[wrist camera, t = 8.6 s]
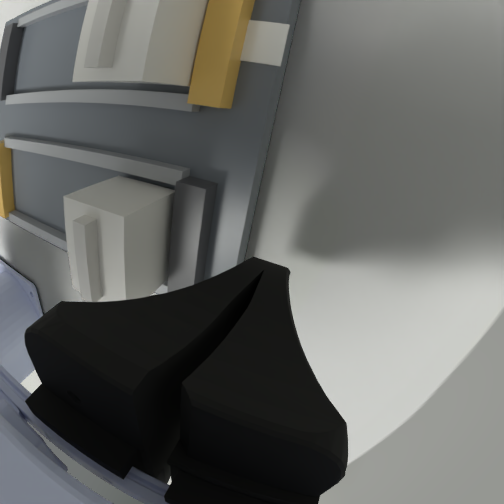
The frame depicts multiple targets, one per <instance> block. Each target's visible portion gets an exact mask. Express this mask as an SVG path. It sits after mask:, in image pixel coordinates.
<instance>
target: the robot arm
mask: <svg viewBox="0 0 504 504" xmlns="http://www.w3.org/2000/svg"><path fill="white" fill-rule="evenodd" d="M289 275H290V270H289V269H288V268H286V267H283V266H280V265H277V264H274V263H271V262H268V261H265V260H262V259H259V258H256V257H252V258H250V259H248V260H246V261H244V262H242V263H240V264H238V265H236V266H235V267H233V268H231V269H229V270H227V271H224V272H222V273H220V274H218V275H216V276H214V277H211V278H209V279H206V280H204V281H202V282H199V283H197V284H194V285H191V286H188V287H185V288H182V289H178V290H175V291H171V292H167V293H163V294H158V295H153V296H148V297H142V298H137V299H129V300H120V301H107V302H65V301H61V302H60V303H58V304H57V305H56V306H55V307H53V308H52V309H51V310H49V311H48V312H47V313H46V314H44V315H43V313H42V309H41V306H40V302H39V298H38V294H37V290H36V287H35V285H34V284H33V283H32V282H30V281H29V280H27V279H26V278H24V277H23V276H22V275H20V274H19V273H18V272H16V271H15V270H14V269H12V268H11V267H10V266H8V265H7V264H6V263H4V262H3V261H2V260H1V259H0V504H113V503H112V502H110V501H109V500H107V499H105V498H104V497H102V496H101V495H99V494H98V493H96V492H95V491H93V490H91V489H90V488H89V487H87V486H85V485H84V484H83V483H81V482H80V481H79V480H77V479H75V478H74V477H73V476H72V475H70V474H69V473H67V470H68V469H67V466H66V465H65V464H63V462H62V461H60V460H59V458H58V457H57V456H56V455H55V454H54V453H53V452H52V451H51V450H50V449H49V447H48V446H47V445H46V443H45V442H44V440H43V439H42V438H41V437H40V436H39V435H38V434H37V433H36V432H35V431H34V430H33V429H32V428H31V427H30V426H29V425H28V423H27V421H28V422H29V423H30V424H31V425H32V426H33V427H34V428H36V429H37V430H38V431H39V432H40V433H41V434H42V435H43V436H45V437H46V438H47V439H48V440H49V441H51V442H52V443H53V444H54V445H55V446H57V447H58V448H59V449H60V450H62V451H63V452H64V453H66V454H67V455H68V456H70V457H71V458H72V459H74V460H75V461H76V462H78V463H79V464H80V465H82V466H83V467H85V468H86V469H88V470H89V471H91V472H92V473H93V474H95V475H96V476H98V477H100V478H101V479H103V480H104V481H106V482H107V483H109V484H111V485H112V486H114V487H116V488H117V489H119V490H121V491H122V492H124V493H126V494H128V495H129V496H131V497H133V498H135V499H137V500H139V501H140V502H142V503H144V504H318V501H319V497H320V495H321V494H323V493H324V492H325V491H327V490H328V489H330V488H331V487H333V486H334V485H335V484H337V483H338V482H339V481H340V480H341V479H342V478H343V477H344V476H345V471H346V468H347V462H348V435H347V424H346V422H345V420H344V419H343V418H342V416H341V415H340V414H339V412H338V411H337V410H336V408H335V407H334V406H333V404H332V403H331V402H330V400H329V399H328V397H327V396H326V394H325V393H324V391H323V389H322V388H321V386H320V384H319V383H318V381H317V379H316V377H315V375H314V373H313V371H312V369H311V367H310V365H309V363H308V361H307V359H306V356H305V354H304V351H303V349H302V346H301V344H300V341H299V338H298V335H297V331H296V328H295V324H294V320H293V315H292V311H291V305H290V297H289ZM34 370H36V372H37V374H38V376H39V378H40V380H41V382H42V384H41V385H40V386H39V387H38V388H37V389H36V390H35V391H34V392H33V393H32V394H31V393H30V392H29V391H28V390H26V389H25V388H24V387H23V386H22V385H21V384H20V383H21V382H22V381H23V380H24V379H25V378H26V377H27V376H28V375H29V374H30V373H31V372H33V371H34ZM170 476H171V480H172V483H171V484H170V485H168V484H167V483H168V481H169V479H170Z"/></svg>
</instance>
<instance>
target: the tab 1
mask: <svg viewBox="0 0 504 504" xmlns="http://www.w3.org/2000/svg"><path fill="white" fill-rule="evenodd" d="M208 3H209V0H89V2H88V6H87V9H86V13H85V17H84V21H83V25H82V30H81V34H80V39H79V44H78V49H77V54H76V60H75V66H74V73H73V80H72V82H121V83H145V84H163V85H177V86H188V87H190V84H191V79H192V74H193V69H194V64H195V59H196V54H197V49H198V45H199V40H200V36H201V31H202V27H203V23H204V19H205V15H206V11H207V7H208Z"/></svg>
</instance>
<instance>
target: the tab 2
mask: <svg viewBox="0 0 504 504" xmlns="http://www.w3.org/2000/svg"><path fill="white" fill-rule="evenodd" d="M174 195H175V190H172V189H169V188H165V187H161V186H157V185H153V184H150V183H146V182H142V181H138V180H134V179H130V178H126V177H122V176H116V177H113V178H110V179H108V180H105V181H102V182H99V183H96V184H94V185H91V186H88V187H86V188H83V189H80V190H78V191H75V192H73V193H70V194H68V195H65V196H63V199H64V217H65V230H66V241H67V250H68V258H69V266H70V273H71V280H72V286H73V289H75V290H77V291H79V292H80V293H81V298H82V300H84V301H86V302H107V301H120V300H129V299H137V298H142V297H148V296H150V295H151V294H153V293H154V292H155V291H156V290H157V289H158V288H159V287H160V286H161V285H162V284H163V283H164V282H165V281H166V280H167V279H168V269H169V253H170V239H171V226H172V215H173V205H174Z"/></svg>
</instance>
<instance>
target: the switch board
mask: <svg viewBox="0 0 504 504" xmlns="http://www.w3.org/2000/svg"><path fill="white" fill-rule="evenodd" d="M88 2H89V0H51V1H49V2H47V3H44V4H42V5H40V6H38V7H36V8H33V9H31V10H29V11H27V12H25V13H23V14H21V15H19V16H17V17H15V18H13V19H12V20H10V21H8V22H6V25H5V29H4V34H3V38H2V43H1V48H0V216H1V217H3V218H5V219H7V220H9V221H10V222H12V223H14V224H16V225H17V226H19V227H21V228H23V229H25V230H26V231H28V232H30V233H32V234H34V235H36V236H37V237H39V238H41V239H43V240H45V241H47V242H49V243H51V244H52V245H54V246H56V247H58V248H60V249H62V250H64V251H66V252H68V250H67V241H66V230H65V217H64V199H63V196H65V195H68V194H70V193H73V192H75V191H78V190H80V189H83V188H86V187H88V186H91V185H94V184H96V183H99V182H102V181H105V180H108V179H110V178H113V177H116V176H122V177H126V178H130V179H134V180H138V181H142V182H146V183H150V184H153V185H157V186H161V187H165V188H169V189H172V190H175V195H174V205H173V215H172V226H171V239H170V253H169V269H168V279H167V280H166V281H165V282H164V283H163V284H162V285H161V286H160V287H159V288H158V289H157V290H156V291H155V292H154V293H156V294H163V293H167V292H171V291H175V290H178V289H182V288H185V287H188V286H191V285H194V284H197V283H199V282H202V281H204V280H206V279H209V278H211V277H214V276H216V275H218V274H220V273H222V272H224V271H227V270H229V269H231V268H233V267H235V266H236V265H238V264H240V263H242V262H244V259H245V254H246V250H247V245H248V240H249V235H250V231H251V226H252V221H253V217H254V212H255V207H256V203H257V198H258V193H259V189H260V184H261V179H262V175H263V170H264V165H265V161H266V156H267V151H268V147H269V142H270V138H271V133H272V128H273V124H274V119H275V115H276V110H277V106H278V101H279V96H280V92H281V87H282V83H283V78H284V74H285V69H286V65H287V60H288V56H289V51H290V47H291V42H292V38H293V33H294V29H295V24H296V20H297V15H298V11H299V6H300V2H301V0H209V3H208V7H207V11H206V15H205V19H204V23H203V27H202V31H201V36H200V40H199V45H198V49H197V54H196V59H195V64H194V69H193V74H192V79H191V84H190V87H188V86H177V85H163V84H145V83H121V82H72V80H73V73H74V66H75V60H76V54H77V49H78V44H79V39H80V34H81V30H82V25H83V21H84V17H85V13H86V9H87V6H88Z"/></svg>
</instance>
